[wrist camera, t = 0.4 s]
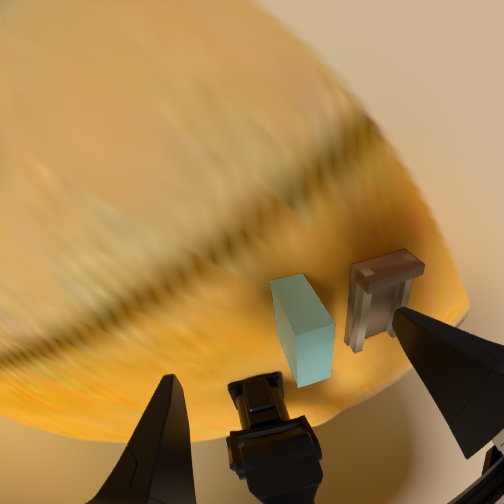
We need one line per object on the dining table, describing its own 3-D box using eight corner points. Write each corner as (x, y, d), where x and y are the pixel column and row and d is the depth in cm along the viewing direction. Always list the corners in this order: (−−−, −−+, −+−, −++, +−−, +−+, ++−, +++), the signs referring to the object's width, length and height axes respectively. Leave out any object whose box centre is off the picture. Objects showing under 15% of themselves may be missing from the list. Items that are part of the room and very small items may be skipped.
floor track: (390, 323, 31) (404, 340, 28) (344, 341, 31) (356, 361, 28) (405, 248, 26) (425, 264, 23) (350, 264, 25) (368, 283, 22)
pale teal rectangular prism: (305, 326, 28) (331, 377, 22) (277, 334, 28) (297, 388, 22) (303, 272, 25) (337, 323, 18) (270, 280, 24) (295, 335, 18)
